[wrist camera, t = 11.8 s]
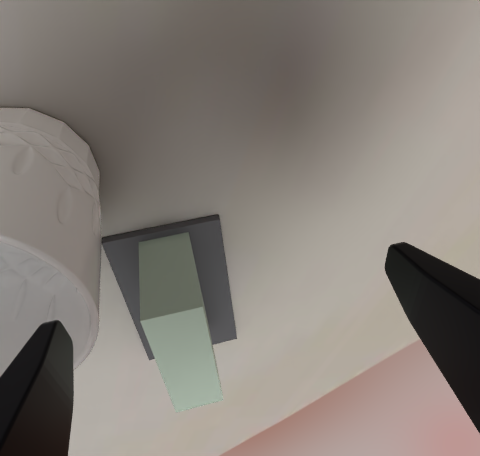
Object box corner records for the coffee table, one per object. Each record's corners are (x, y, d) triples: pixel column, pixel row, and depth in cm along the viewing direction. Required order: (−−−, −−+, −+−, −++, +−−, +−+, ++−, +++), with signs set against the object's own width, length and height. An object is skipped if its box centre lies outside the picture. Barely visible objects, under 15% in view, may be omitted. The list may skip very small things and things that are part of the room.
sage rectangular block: (208, 324, 28) (223, 400, 24) (168, 334, 28) (176, 412, 23) (188, 232, 23) (202, 306, 18) (138, 242, 22) (140, 321, 18)
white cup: (-110, 112, 16) (-333, 271, 8) (76, 75, 17) (29, 189, 9) (-10, 248, 21) (-93, 427, 13) (130, 215, 22) (130, 366, 14)
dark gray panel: (218, 214, 23) (219, 219, 23) (235, 333, 31) (236, 338, 30) (102, 237, 22) (101, 243, 22) (149, 354, 30) (149, 359, 29)
